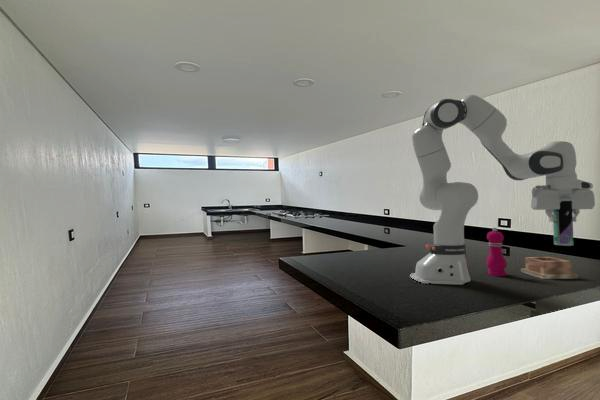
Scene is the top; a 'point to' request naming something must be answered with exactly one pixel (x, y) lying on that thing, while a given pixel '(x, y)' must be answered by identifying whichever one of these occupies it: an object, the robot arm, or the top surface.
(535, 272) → the can holder
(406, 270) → the top surface
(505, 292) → the top surface
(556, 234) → the spray can
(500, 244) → the pepper mill
